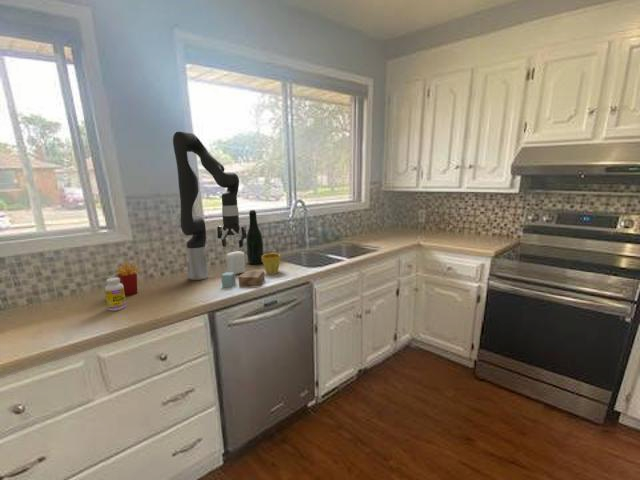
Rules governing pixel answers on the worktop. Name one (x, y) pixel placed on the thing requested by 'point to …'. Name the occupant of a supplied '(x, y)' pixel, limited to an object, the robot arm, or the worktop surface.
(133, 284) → the french fries
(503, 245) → the worktop surface
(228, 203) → the robot arm
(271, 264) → the plant pot
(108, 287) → the supplement bottle
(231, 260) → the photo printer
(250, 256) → the beer bottle
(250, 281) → the walnut block
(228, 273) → the teal block
